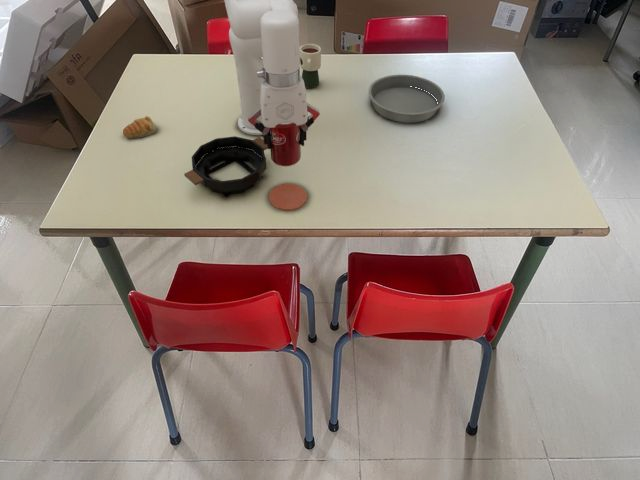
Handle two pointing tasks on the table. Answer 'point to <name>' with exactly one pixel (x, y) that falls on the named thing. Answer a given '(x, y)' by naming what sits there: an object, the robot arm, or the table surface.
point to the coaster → (288, 197)
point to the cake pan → (405, 98)
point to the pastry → (139, 128)
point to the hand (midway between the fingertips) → (285, 143)
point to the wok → (232, 153)
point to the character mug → (310, 64)
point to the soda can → (285, 144)
